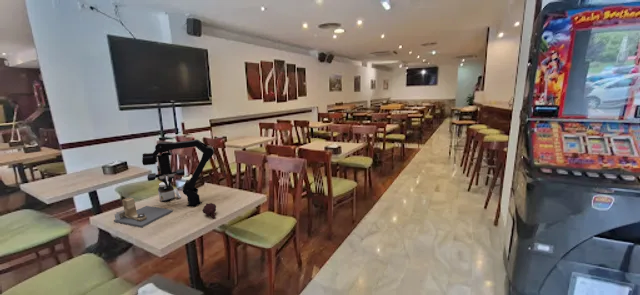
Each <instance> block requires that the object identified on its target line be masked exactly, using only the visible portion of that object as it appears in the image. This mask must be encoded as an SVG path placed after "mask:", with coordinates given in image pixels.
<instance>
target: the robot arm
mask: <svg viewBox="0 0 640 295" xmlns="http://www.w3.org/2000/svg"><path fill="white" fill-rule="evenodd" d="M194 147H195V148H197V149H198V150H199V151H200V152H201V153H202V155H201V159H200V161H199V162H198V164H197V166H196V168H195V170H194V171H193V173H192V175H191V177H190V178H189V180H188V179H186V180H185V183H184V184H183V186H182V187H181V188H182V193H183V194H184V195H185V196H186V198H187V204H186V207H189V208H190V207H192V208H195V207H198V206H199V205H201V204H203V202H202V201H201V200H200V194H198V193H199V188H197V187H196V183H197V181H198V179H200V178H199V177H200V175H202V174H201V173H202V172H203V170H204V168H205V166H206V165H207V163H208V162H209V161H210V159H211V158H212V157H213V156H214V154H215V148H214V147H213V146H210V145H207V144H205V143H204V142H202V141H200V139H198V138H197V139H192V140H182V141H175V142H173V141H159V142H157V144H156V145H155V147H154V151H153V152H149V153H146V152H145V153H142V159H141V162H142V165H143V166H152V165H156V164H157V163H158V165H157V166H156V168H157V172H160V173H156V172H153V173H148V174H147V181H148V182H150V181H155V180H156V179H157V178H159V181H162V182H164V183H165V185H166V186H167V188H170V184H171V185H172V181H173V179H175V175H176V176H179V177H182V176H185V171H184V170H185V169H184V168H180V169H179V168H177V169H176V171H172V170H173V169H172V166H171V160H170V156H172V155H173V152H171V151H173V150H180V149H188V148H189V149H190V148H194ZM166 177H168V178H166ZM167 179H168V180H167ZM167 181H168V183H169V187H168V183H167Z"/></svg>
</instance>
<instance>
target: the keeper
mask: <svg viewBox="0 0 640 295" xmlns="http://www.w3.org/2000/svg"><path fill="white" fill-rule="evenodd" d="M123 214H125V211H124V209H123V210H120V211H118V212H116V213H114V214H113V215H114V220H115V219H116V220H122V219H123ZM137 216H138V218H140V217H143V216H145V215H144V213H141V214H138V215H137Z"/></svg>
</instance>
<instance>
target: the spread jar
mask: <svg viewBox="0 0 640 295" xmlns="http://www.w3.org/2000/svg"><path fill="white" fill-rule="evenodd" d="M167 183H168V180H167ZM168 187H169V183H168ZM157 192H158V193H157V194H158V197H159V198H158V199H159V200H160V201H161V202H162V203H165V202H170V200H171V201H173V200H174V199H175V198H176V197H177V198H178V199H180V198H182V196H181V194H180V191H179V190H178V189H177V188H174V186H173V184H172V183H171V184H170V188H167V186H166V185H165V183H164V182H163V181H162V182H160V183H159V184H158V188H157Z"/></svg>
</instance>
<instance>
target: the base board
mask: <svg viewBox="0 0 640 295" xmlns="http://www.w3.org/2000/svg"><path fill="white" fill-rule="evenodd" d="M136 212H137V214H141V213H144V215H146V217H147V219H145V220H143V221H137V220H135V219H131V218H127V217H123V219H122V220H116V219H115V218H114V220H113V222H114V223H116V224H122V225H128V226H133V227H136V228H141V229H142V228H144V227H146V226H148V225H149V224H151V223H153V222H156V221H157V220H159V219H162V218H163V217H165V216H168V215H169V214H171V213H173V212H174V210H173V209H170V208H163V207H156V206H149V205H145V206H143V207H140V208H139V209H136Z"/></svg>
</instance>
